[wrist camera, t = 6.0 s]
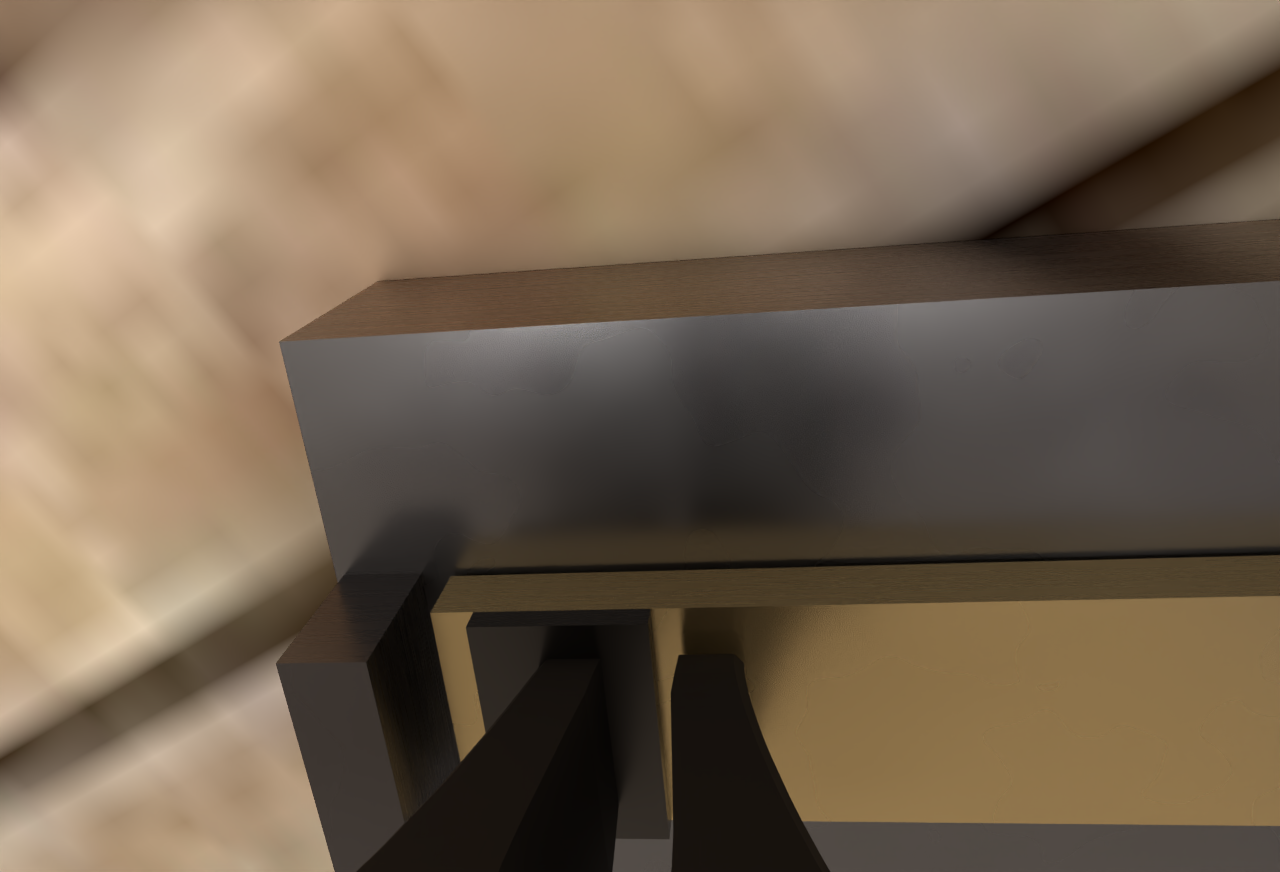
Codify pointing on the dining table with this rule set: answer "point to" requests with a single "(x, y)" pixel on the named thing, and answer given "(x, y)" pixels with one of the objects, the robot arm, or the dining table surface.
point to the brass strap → (919, 682)
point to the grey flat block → (776, 468)
